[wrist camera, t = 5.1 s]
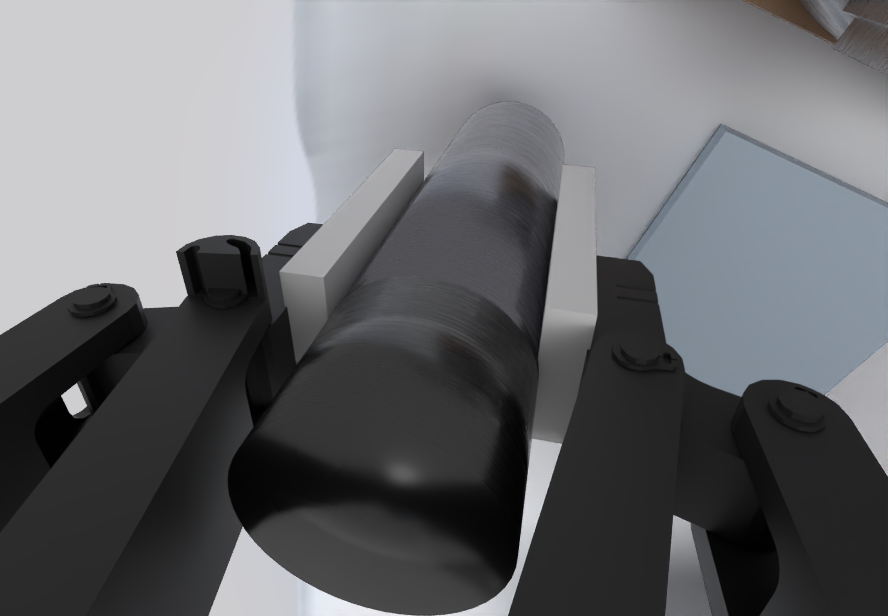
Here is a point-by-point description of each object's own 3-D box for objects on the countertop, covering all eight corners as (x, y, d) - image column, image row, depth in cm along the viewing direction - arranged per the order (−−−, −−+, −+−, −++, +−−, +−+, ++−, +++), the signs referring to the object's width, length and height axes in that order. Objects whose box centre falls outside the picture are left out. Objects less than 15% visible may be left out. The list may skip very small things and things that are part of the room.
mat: (774, 418, 30) (779, 432, 30) (576, 329, 30) (576, 341, 29) (975, 244, 23) (989, 256, 23) (721, 124, 23) (726, 131, 22)
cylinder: (534, 227, 19) (453, 647, 8) (438, 185, 19) (214, 545, 8) (584, 130, 17) (576, 507, 6) (477, 82, 17) (248, 367, 6)
